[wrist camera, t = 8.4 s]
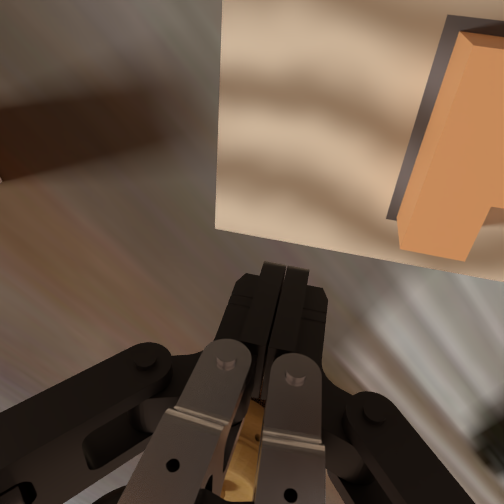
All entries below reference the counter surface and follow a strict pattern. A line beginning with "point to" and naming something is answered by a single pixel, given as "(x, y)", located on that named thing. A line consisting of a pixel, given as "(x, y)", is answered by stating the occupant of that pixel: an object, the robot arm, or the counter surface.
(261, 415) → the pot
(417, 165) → the t block
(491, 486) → the counter surface
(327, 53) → the push board
